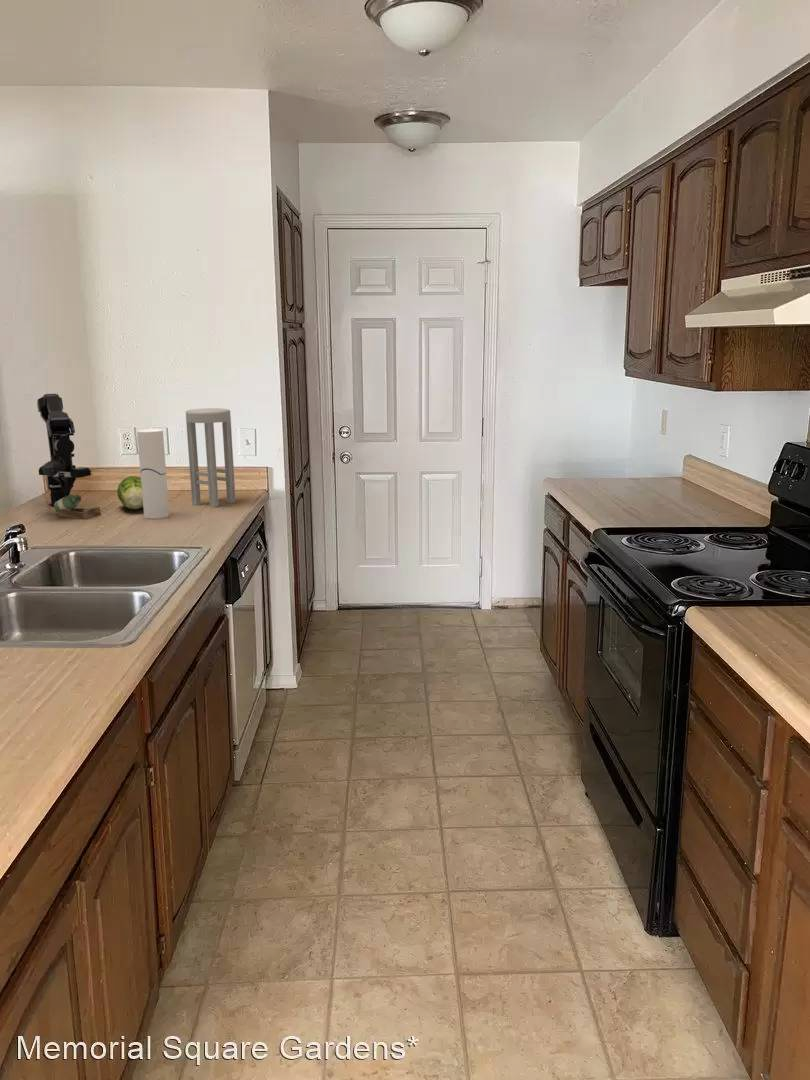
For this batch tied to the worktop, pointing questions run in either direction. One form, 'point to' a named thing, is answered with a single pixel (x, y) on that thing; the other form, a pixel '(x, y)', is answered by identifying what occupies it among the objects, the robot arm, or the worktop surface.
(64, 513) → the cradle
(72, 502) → the bottle
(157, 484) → the container
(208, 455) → the stool
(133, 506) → the lettuce
